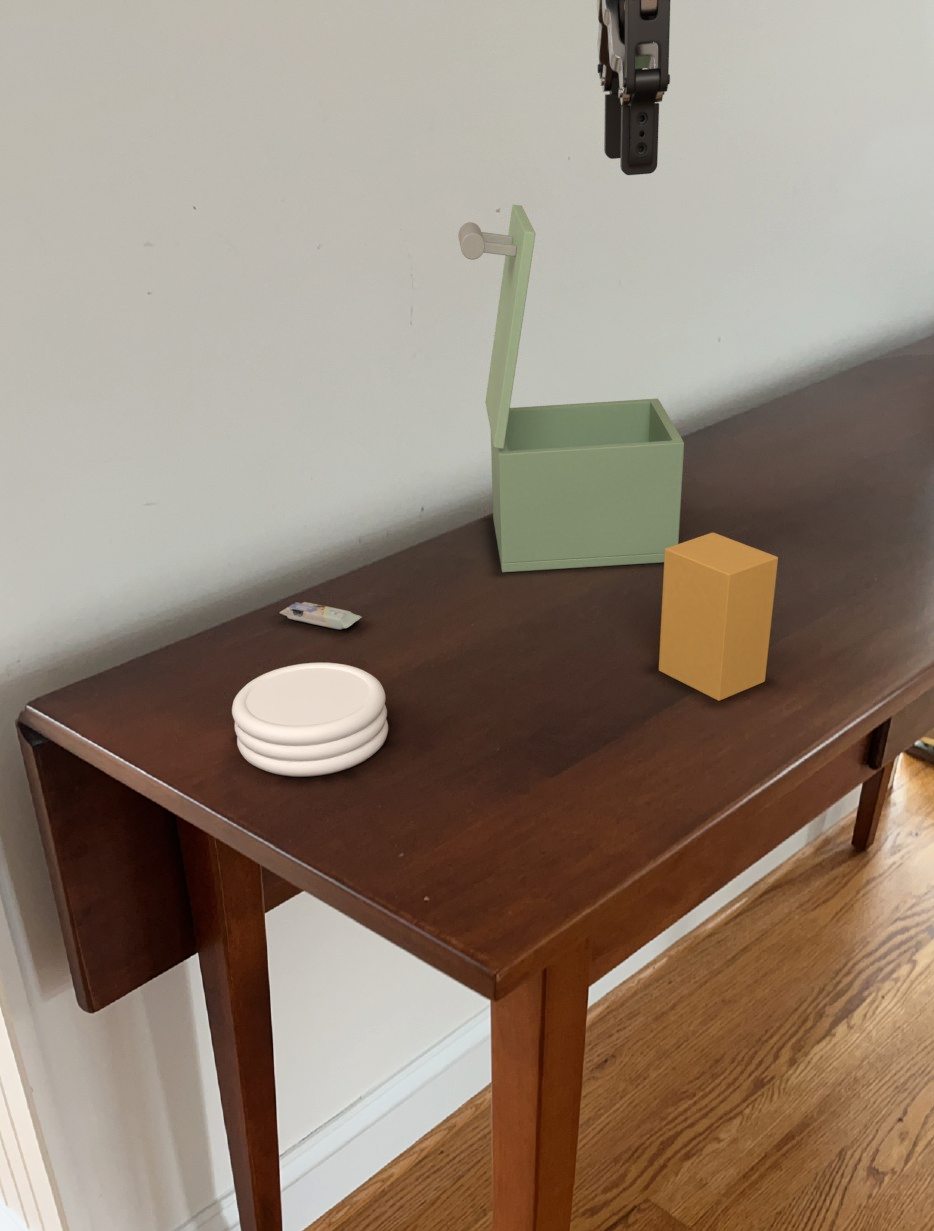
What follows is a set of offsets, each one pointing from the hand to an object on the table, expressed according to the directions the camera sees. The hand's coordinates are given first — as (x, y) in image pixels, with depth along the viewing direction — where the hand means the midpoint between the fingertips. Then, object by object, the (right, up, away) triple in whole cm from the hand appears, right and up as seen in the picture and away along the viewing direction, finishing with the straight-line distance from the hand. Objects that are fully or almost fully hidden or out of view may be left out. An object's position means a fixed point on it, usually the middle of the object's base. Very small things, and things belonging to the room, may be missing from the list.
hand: (629, 165), depth 82 cm
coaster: (-21, -38, +2) cm, 43 cm away
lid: (-7, -3, +17) cm, 19 cm away
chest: (0, -17, +28) cm, 32 cm away
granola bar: (-22, -26, +17) cm, 38 cm away
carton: (+7, -32, +6) cm, 34 cm away
